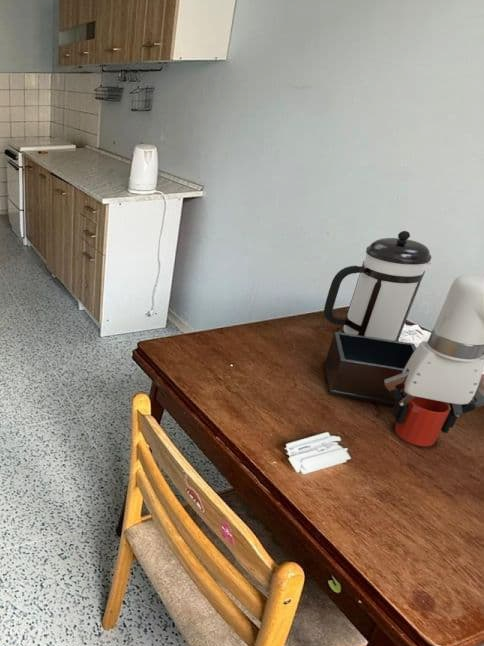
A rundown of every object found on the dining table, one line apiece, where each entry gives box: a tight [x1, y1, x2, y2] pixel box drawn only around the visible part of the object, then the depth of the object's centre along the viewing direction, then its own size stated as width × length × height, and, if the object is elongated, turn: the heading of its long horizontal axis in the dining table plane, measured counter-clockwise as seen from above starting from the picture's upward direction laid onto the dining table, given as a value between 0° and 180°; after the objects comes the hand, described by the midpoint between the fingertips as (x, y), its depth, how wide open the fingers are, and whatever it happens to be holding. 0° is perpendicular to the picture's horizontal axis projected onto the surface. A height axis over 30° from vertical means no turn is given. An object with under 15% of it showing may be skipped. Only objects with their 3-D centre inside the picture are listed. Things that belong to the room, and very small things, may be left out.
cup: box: [394, 397, 451, 447], centre depth 91 cm, size 6×6×8 cm
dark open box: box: [324, 331, 417, 407], centre depth 106 cm, size 16×14×9 cm
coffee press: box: [323, 230, 432, 341], centre depth 118 cm, size 17×16×30 cm
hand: (419, 423), depth 91 cm, fingers closed on cup, 6 cm apart
